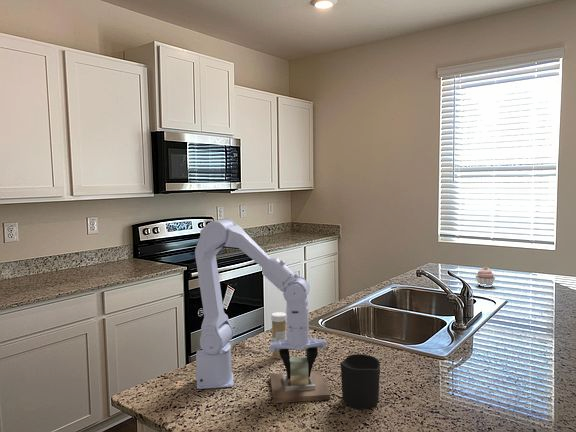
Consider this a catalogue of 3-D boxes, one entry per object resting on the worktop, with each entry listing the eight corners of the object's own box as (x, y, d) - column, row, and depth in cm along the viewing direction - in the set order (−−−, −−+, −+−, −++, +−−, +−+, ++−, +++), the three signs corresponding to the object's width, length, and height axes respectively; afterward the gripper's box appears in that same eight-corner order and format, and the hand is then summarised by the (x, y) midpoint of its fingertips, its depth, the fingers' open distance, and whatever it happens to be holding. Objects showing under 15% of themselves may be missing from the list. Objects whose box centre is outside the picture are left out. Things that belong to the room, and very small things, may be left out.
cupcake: (477, 288, 219) (477, 268, 218) (473, 284, 228) (473, 264, 227) (498, 288, 217) (498, 268, 216) (492, 284, 226) (492, 264, 226)
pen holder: (387, 407, 106) (387, 366, 106) (350, 414, 104) (350, 372, 103) (369, 390, 115) (368, 352, 115) (335, 395, 113) (334, 356, 112)
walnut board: (274, 403, 109) (273, 394, 109) (270, 378, 123) (269, 370, 123) (330, 399, 111) (330, 390, 111) (320, 375, 125) (320, 367, 125)
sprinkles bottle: (271, 354, 141) (270, 311, 140) (286, 353, 141) (285, 311, 140) (272, 359, 136) (271, 316, 135) (287, 358, 136) (286, 315, 135)
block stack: (291, 387, 114) (290, 364, 114) (289, 379, 119) (288, 357, 118) (308, 385, 115) (308, 363, 114) (306, 378, 119) (305, 356, 119)
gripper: (270, 332, 111) (271, 385, 112) (328, 328, 113) (329, 381, 114) (268, 323, 118) (269, 373, 119) (323, 320, 120) (323, 369, 121)
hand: (298, 376), depth 117 cm, fingers closed on block stack, 4 cm apart
